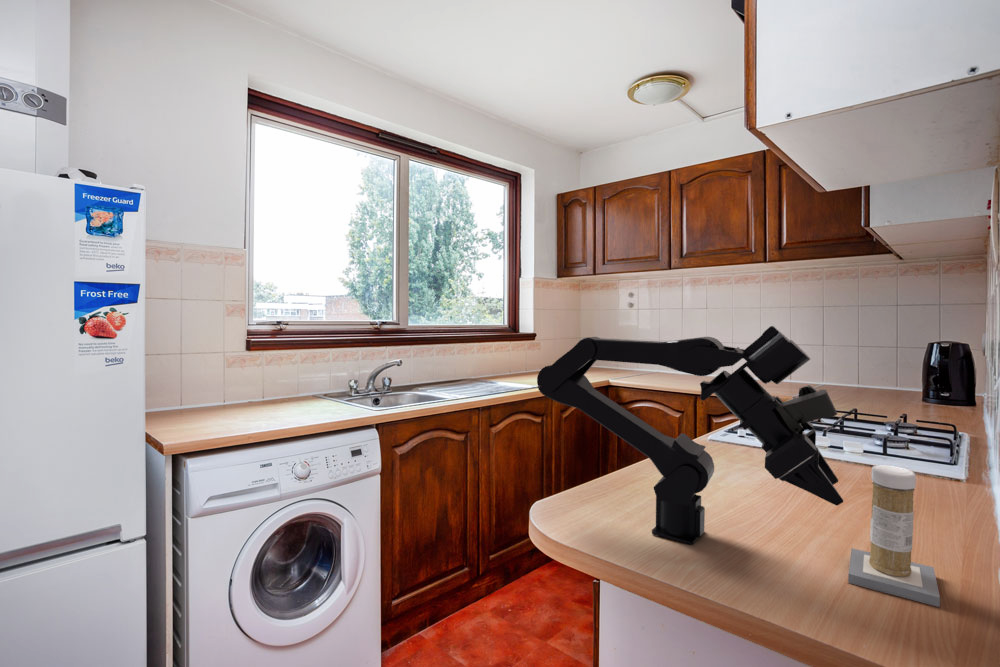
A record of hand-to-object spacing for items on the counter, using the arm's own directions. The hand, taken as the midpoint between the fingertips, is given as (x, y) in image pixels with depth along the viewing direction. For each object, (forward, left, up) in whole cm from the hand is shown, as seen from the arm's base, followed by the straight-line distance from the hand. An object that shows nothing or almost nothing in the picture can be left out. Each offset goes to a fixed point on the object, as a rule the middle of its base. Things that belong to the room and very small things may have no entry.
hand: (838, 492), depth 69 cm
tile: (+6, +1, -11) cm, 12 cm away
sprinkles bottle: (+6, +1, -9) cm, 11 cm away
